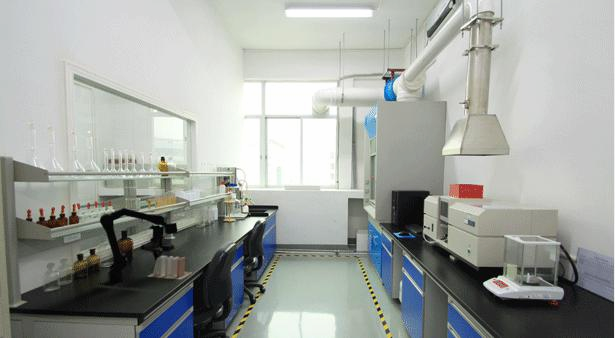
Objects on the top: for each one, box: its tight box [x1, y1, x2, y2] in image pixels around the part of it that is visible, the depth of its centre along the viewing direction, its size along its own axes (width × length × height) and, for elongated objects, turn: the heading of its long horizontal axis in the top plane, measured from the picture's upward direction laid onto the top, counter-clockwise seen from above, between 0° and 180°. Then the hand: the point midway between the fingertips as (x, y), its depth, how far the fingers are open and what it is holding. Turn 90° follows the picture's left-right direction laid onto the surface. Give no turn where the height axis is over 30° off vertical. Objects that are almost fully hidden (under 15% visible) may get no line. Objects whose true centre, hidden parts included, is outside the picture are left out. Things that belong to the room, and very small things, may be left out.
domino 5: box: [177, 256, 186, 277], centre depth 150 cm, size 2×5×10 cm, turn 171°
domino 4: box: [171, 256, 180, 276], centre depth 151 cm, size 2×5×10 cm, turn 171°
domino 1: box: [152, 255, 165, 275], centre depth 152 cm, size 2×5×10 cm, turn 170°
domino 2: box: [159, 255, 169, 275], centre depth 152 cm, size 2×5×10 cm, turn 171°
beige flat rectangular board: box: [147, 271, 193, 280], centre depth 151 cm, size 22×11×1 cm, turn 81°
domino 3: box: [165, 255, 175, 276], centre depth 151 cm, size 2×5×10 cm, turn 171°
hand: (156, 261), depth 153 cm, fingers closed
